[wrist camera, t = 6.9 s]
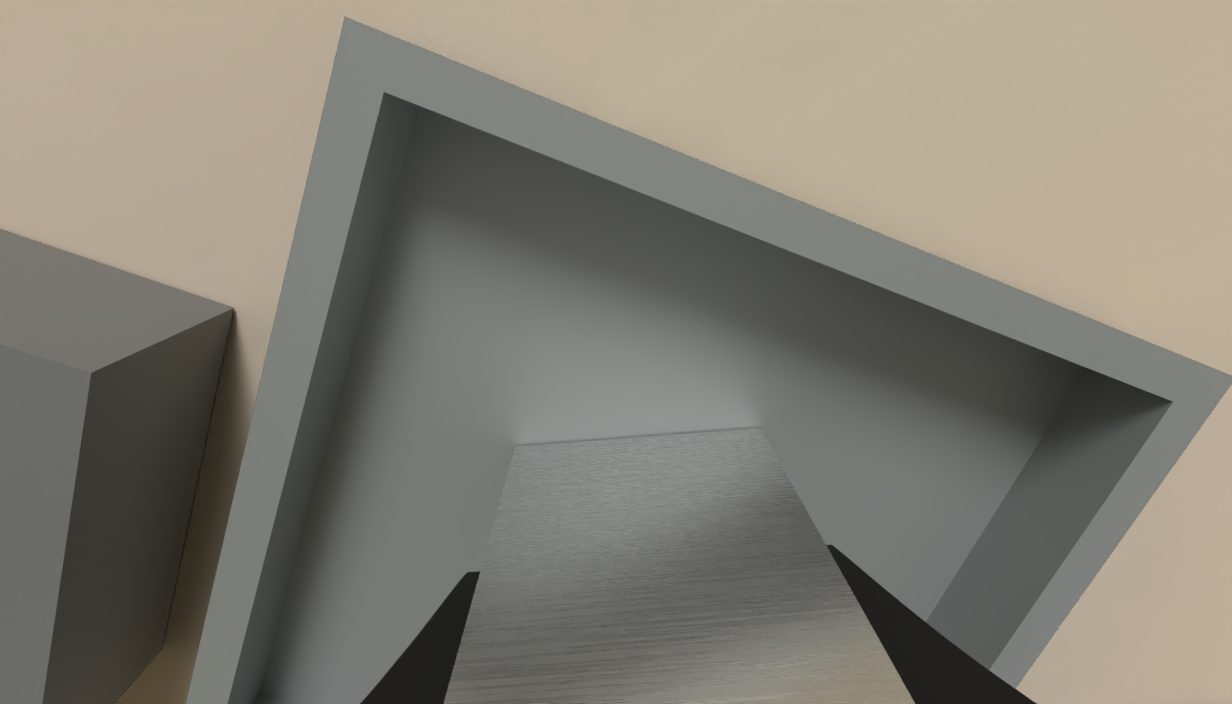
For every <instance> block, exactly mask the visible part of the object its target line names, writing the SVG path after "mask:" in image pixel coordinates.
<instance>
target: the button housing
mask: <svg viewBox="0 0 1232 704" xmlns="http://www.w3.org/2000/svg"><path fill="white" fill-rule="evenodd" d="M233 309H234V308H232V307H229V306H226V305H223V304H220V303H217V302H214V301H211V300H208V299H205V298H203V297H200V296H197V295H194V294H191V293H188V292H185V291H182V290H179V289H176V288H173V287H170V286H167V285H164V284H161V283H158V282H155V281H152V280H149V279H146V278H143V277H140V276H137V275H134V274H131V273H128V272H125V271H122V270H120V269H117V268H114V267H111V266H108V265H105V264H102V263H99V262H96V261H93V260H90V259H87V258H84V257H81V256H78V255H75V254H72V253H69V252H66V251H63V250H60V249H57V248H54V247H51V246H48V245H45V244H42V243H39V242H36V241H34V240H31V239H28V238H25V237H22V236H19V235H16V234H13V233H10V232H7V231H4V230H1V229H0V704H115V703H116V701H117V700H118V699H119V698H120V697H121V696H122V694H123V693H124V692H125V691H126V690H127V689H128V687H129V686H130V685H131V684H132V683H133V682H134V681H135V679H136V678H137V677H138V676H139V675H140V674H141V672H142V671H143V670H144V669H145V668H146V667H147V665H148V664H149V663H150V662H151V661H152V660H153V658H154V657H155V656H156V655H157V654H158V653H159V652H160V650H161V649H162V646H163V641H164V637H165V632H166V627H167V622H168V618H169V613H170V608H171V603H172V599H173V594H174V589H175V584H176V580H177V575H178V570H179V565H180V561H181V556H182V551H183V546H184V542H185V537H186V532H187V527H188V523H189V518H190V513H191V508H192V504H193V499H194V494H195V489H196V485H197V480H198V475H199V470H200V466H201V461H202V456H203V451H204V447H205V442H206V437H207V432H208V428H209V423H210V418H211V413H212V409H213V404H214V399H215V394H216V390H217V385H218V380H219V375H220V371H221V366H222V361H223V356H224V352H225V347H226V342H227V338H228V333H229V328H230V323H231V319H232V314H233Z"/></svg>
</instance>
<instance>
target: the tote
mask: <svg viewBox="0 0 1232 704" xmlns="http://www.w3.org/2000/svg"><path fill="white" fill-rule="evenodd" d="M1231 384H1232V376H1231V375H1229V374H1226V373H1224V372H1221V371H1219V370H1216V369H1214V368H1211V367H1209V366H1207V365H1204V364H1202V363H1199V362H1197V361H1194V360H1192V359H1189V358H1187V357H1184V356H1182V355H1179V354H1177V353H1174V352H1172V351H1170V350H1167V349H1165V348H1162V347H1160V346H1157V345H1155V344H1152V343H1150V342H1147V341H1145V340H1142V339H1140V338H1137V337H1135V336H1132V335H1130V334H1128V333H1125V332H1123V331H1120V330H1118V329H1115V328H1113V327H1110V326H1108V325H1105V324H1103V323H1100V322H1098V321H1095V320H1093V319H1090V318H1088V317H1086V316H1083V315H1081V314H1078V313H1076V312H1073V311H1071V310H1068V309H1066V308H1063V307H1061V306H1058V305H1056V304H1053V303H1051V302H1048V301H1046V300H1044V299H1041V298H1039V297H1036V296H1034V295H1031V294H1029V293H1026V292H1024V291H1021V290H1019V289H1016V288H1014V287H1011V286H1009V285H1007V284H1004V283H1002V282H999V281H997V280H994V279H992V278H989V277H987V276H984V275H982V274H979V273H977V272H974V271H972V270H969V269H967V268H965V267H962V266H960V265H957V264H955V263H952V262H950V261H947V260H945V259H942V258H940V257H937V256H935V255H932V254H930V253H927V252H925V251H923V250H920V249H918V248H915V247H913V246H910V245H908V244H905V243H903V242H900V241H898V240H895V239H893V238H890V237H888V236H885V235H883V234H881V233H878V232H876V231H873V230H871V229H868V228H866V227H863V226H861V225H858V224H856V223H853V222H851V221H848V220H846V219H844V218H841V217H839V216H836V215H834V214H831V213H829V212H826V211H824V210H821V209H819V208H816V207H814V206H811V205H809V204H806V203H804V202H802V201H799V200H797V199H794V198H792V197H789V196H787V195H784V194H782V193H779V192H777V191H774V190H772V189H769V188H767V187H764V186H762V185H760V184H757V183H755V182H752V181H750V180H747V179H745V178H742V177H740V176H737V175H735V174H732V173H730V172H727V171H725V170H722V169H720V168H718V167H715V166H713V165H710V164H708V163H705V162H703V161H700V160H698V159H695V158H693V157H690V156H688V155H685V154H683V153H681V152H678V151H676V150H673V149H671V148H668V147H666V146H663V145H661V144H658V143H656V142H653V141H651V140H648V139H646V138H643V137H641V136H639V135H636V134H634V133H631V132H629V131H626V130H624V129H621V128H619V127H616V126H614V125H611V124H609V123H606V122H604V121H601V120H599V119H597V118H594V117H592V116H589V115H587V114H584V113H582V112H579V111H577V110H574V109H572V108H569V107H567V106H564V105H562V104H559V103H557V102H555V101H552V100H550V99H547V98H545V97H542V96H540V95H537V94H535V93H532V92H530V91H527V90H525V89H522V88H520V87H518V86H515V85H513V84H510V83H508V82H505V81H503V80H500V79H498V78H495V77H493V76H490V75H488V74H485V73H483V72H480V71H478V70H476V69H473V68H471V67H468V66H466V65H463V64H461V63H458V62H456V61H453V60H451V59H448V58H446V57H443V56H441V55H438V54H436V53H434V52H431V51H429V50H426V49H424V48H421V47H419V46H416V45H414V44H411V43H409V42H406V41H404V40H401V39H399V38H396V37H394V36H392V35H389V34H387V33H384V32H382V31H379V30H377V29H374V28H372V27H369V26H367V25H364V24H362V23H359V22H357V21H355V20H352V19H350V18H347V17H344V21H343V26H342V30H341V34H340V39H339V43H338V47H337V52H336V56H335V60H334V65H333V69H332V73H331V78H330V82H329V86H328V91H327V95H326V99H325V104H324V108H323V112H322V117H321V121H320V125H319V130H318V134H317V138H316V143H315V147H314V151H313V155H312V160H311V164H310V168H309V173H308V177H307V181H306V186H305V190H304V194H303V199H302V203H301V207H300V212H299V216H298V220H297V225H296V229H295V233H294V238H293V242H292V246H291V251H290V255H289V259H288V264H287V268H286V272H285V277H284V281H283V285H282V290H281V294H280V298H279V303H278V307H277V311H276V315H275V320H274V324H273V328H272V333H271V337H270V341H269V346H268V350H267V354H266V359H265V363H264V367H263V372H262V376H261V380H260V385H259V389H258V393H257V398H256V402H255V406H254V411H253V415H252V419H251V424H250V428H249V432H248V437H247V441H246V445H245V450H244V454H243V458H242V463H241V467H240V471H239V475H238V480H237V484H236V488H235V493H234V497H233V501H232V506H231V510H230V514H229V519H228V523H227V527H226V532H225V536H224V540H223V545H222V549H221V553H220V558H219V562H218V566H217V571H216V575H215V579H214V584H213V588H212V592H211V597H210V601H209V605H208V610H207V614H206V618H205V623H204V627H203V631H202V635H201V640H200V644H199V648H198V653H197V657H196V661H195V666H194V670H193V674H192V679H191V683H190V687H189V692H188V696H187V700H186V704H360V703H361V702H362V701H363V700H364V699H365V698H366V697H367V695H368V694H369V693H370V692H371V691H372V690H373V688H374V687H375V686H376V685H377V684H378V683H379V681H380V680H381V679H382V678H383V676H384V675H385V674H386V673H387V672H388V670H389V669H390V668H391V667H392V666H393V664H394V663H395V662H396V661H397V659H398V658H399V657H400V656H401V655H402V653H403V652H404V651H405V650H406V649H407V647H408V646H409V645H410V644H411V642H412V641H413V640H414V639H415V637H416V636H417V635H418V634H419V632H420V631H421V630H422V629H423V627H424V626H425V625H426V623H427V622H428V621H429V620H430V618H431V617H432V616H433V614H434V613H435V612H436V611H437V609H438V608H439V607H440V605H441V604H442V603H443V601H444V600H445V599H446V597H447V596H448V595H449V594H450V592H451V591H452V590H453V588H454V587H455V586H456V585H457V583H458V582H459V581H460V579H461V578H462V577H463V576H464V575H465V574H466V573H467V572H476V571H481V567H482V564H483V560H484V556H485V553H486V549H487V546H488V542H489V539H490V535H491V531H492V528H493V524H494V521H495V517H496V513H497V510H498V506H499V503H500V499H501V495H502V492H503V488H504V485H505V481H506V477H507V474H508V470H509V467H510V463H511V460H512V456H513V452H514V449H515V446H526V445H539V444H553V443H566V442H579V441H592V440H606V439H619V438H632V437H645V436H659V435H672V434H685V433H698V432H712V431H725V430H738V429H751V428H761V430H762V432H763V434H764V435H765V437H766V439H767V441H768V442H769V444H770V446H771V448H772V450H773V451H774V453H775V455H776V457H777V459H778V460H779V462H780V464H781V466H782V467H783V469H784V471H785V473H786V475H787V476H788V478H789V480H790V482H791V483H792V485H793V487H794V489H795V491H796V492H797V494H798V496H799V498H800V499H801V501H802V503H803V505H804V507H805V508H806V510H807V512H808V514H809V515H810V517H811V519H812V521H813V523H814V524H815V526H816V528H817V530H818V531H819V533H820V535H821V537H822V539H823V540H824V542H825V544H826V545H833V546H834V547H835V548H837V549H838V550H839V551H840V552H842V553H843V554H844V555H845V556H846V557H848V558H849V559H850V560H851V561H852V562H854V563H855V564H856V565H857V566H858V567H859V568H861V569H862V570H863V571H864V572H865V573H867V574H868V575H869V576H870V577H871V578H873V579H874V580H875V581H876V582H877V583H878V584H880V585H881V586H882V587H883V588H884V589H886V590H887V591H888V592H889V593H891V594H892V595H893V596H894V597H895V598H897V599H898V600H899V601H900V602H901V603H903V604H904V605H905V606H906V607H908V608H909V609H910V610H911V611H912V612H914V613H915V614H916V615H917V616H919V617H920V618H921V619H922V620H924V621H925V622H926V623H927V624H929V625H930V626H931V627H932V628H934V629H935V630H936V631H938V632H939V633H940V634H941V635H943V636H944V637H945V638H947V639H948V640H949V641H950V642H952V643H953V644H954V645H956V646H957V647H958V648H960V649H961V650H962V651H964V652H965V653H966V654H968V655H969V656H970V657H972V658H973V659H974V660H976V661H977V662H978V663H980V664H981V665H982V666H984V667H985V668H987V669H988V670H989V671H991V672H992V673H994V674H995V675H997V676H998V677H999V678H1001V679H1002V680H1004V681H1005V682H1006V683H1008V684H1009V685H1011V686H1012V687H1013V688H1015V689H1016V687H1017V686H1018V685H1019V683H1020V682H1021V680H1022V679H1023V677H1024V676H1025V675H1026V673H1027V672H1028V670H1029V669H1030V668H1031V666H1032V665H1033V663H1034V662H1035V661H1036V659H1037V658H1038V656H1039V655H1040V653H1041V652H1042V651H1043V649H1044V648H1045V646H1046V645H1047V644H1048V642H1049V641H1050V639H1051V638H1052V637H1053V635H1054V634H1055V632H1056V631H1057V630H1058V628H1059V627H1060V625H1061V624H1062V622H1063V621H1064V620H1065V618H1066V617H1067V615H1068V614H1069V613H1070V611H1071V610H1072V608H1073V607H1074V606H1075V604H1076V603H1077V601H1078V600H1079V598H1080V597H1081V596H1082V594H1083V593H1084V591H1085V590H1086V589H1087V587H1088V586H1089V584H1090V583H1091V582H1092V580H1093V579H1094V577H1095V576H1096V574H1097V573H1098V572H1099V570H1100V569H1101V567H1102V566H1103V565H1104V563H1105V562H1106V560H1107V559H1108V558H1109V556H1110V555H1111V553H1112V552H1113V551H1114V549H1115V548H1116V546H1117V545H1118V543H1119V542H1120V541H1121V539H1122V538H1123V536H1124V535H1125V534H1126V532H1127V531H1128V529H1129V528H1130V527H1131V525H1132V524H1133V522H1134V521H1135V519H1136V518H1137V517H1138V515H1139V514H1140V512H1141V511H1142V510H1143V508H1144V507H1145V505H1146V504H1147V503H1148V501H1149V500H1150V498H1151V497H1152V495H1153V494H1154V493H1155V491H1156V490H1157V488H1158V487H1159V486H1160V484H1161V483H1162V481H1163V480H1164V479H1165V477H1166V476H1167V474H1168V473H1169V472H1170V470H1171V469H1172V467H1173V466H1174V464H1175V463H1176V462H1177V460H1178V459H1179V457H1180V456H1181V455H1182V453H1183V452H1184V450H1185V449H1186V448H1187V446H1188V445H1189V443H1190V442H1191V440H1192V439H1193V438H1194V436H1195V435H1196V433H1197V432H1198V431H1199V429H1200V428H1201V426H1202V425H1203V424H1204V422H1205V421H1206V419H1207V418H1208V416H1209V415H1210V414H1211V412H1212V411H1213V409H1214V408H1215V407H1216V405H1217V404H1218V402H1219V401H1220V400H1221V398H1222V397H1223V395H1224V394H1225V393H1226V391H1227V390H1228V388H1229V387H1230V385H1231Z"/></svg>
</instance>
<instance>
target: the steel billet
mask: <svg viewBox="0 0 1232 704" xmlns="http://www.w3.org/2000/svg"><path fill="white" fill-rule="evenodd" d="M444 704H915V702H914V701H913V699H912V697H911V695H910V693H909V692H908V690H907V688H906V686H905V685H904V683H903V681H902V679H901V677H900V676H899V674H898V672H897V670H896V669H895V667H894V665H893V663H892V661H891V660H890V658H889V656H888V654H887V653H886V651H885V649H884V647H883V645H882V644H881V642H880V640H879V638H878V637H877V635H876V633H875V631H874V629H873V628H872V626H871V624H870V622H869V620H868V619H867V617H866V615H865V613H864V612H863V610H862V608H861V606H860V604H859V603H858V601H857V599H856V597H855V596H854V594H853V592H852V590H851V588H850V587H849V585H848V583H847V581H846V580H845V578H844V576H843V574H842V572H841V571H840V569H839V567H838V565H837V564H836V562H835V560H834V558H833V556H832V555H831V553H830V551H829V549H828V548H827V546H826V544H825V542H824V540H823V539H822V537H821V535H820V533H819V531H818V530H817V528H816V526H815V524H814V523H813V521H812V519H811V517H810V515H809V514H808V512H807V510H806V508H805V507H804V505H803V503H802V501H801V499H800V498H799V496H798V494H797V492H796V491H795V489H794V487H793V485H792V483H791V482H790V480H789V478H788V476H787V475H786V473H785V471H784V469H783V467H782V466H781V464H780V462H779V460H778V459H777V457H776V455H775V453H774V451H773V450H772V448H771V446H770V444H769V442H768V441H767V439H766V437H765V435H764V434H763V432H762V430H761V428H751V429H738V430H725V431H712V432H698V433H685V434H672V435H659V436H645V437H632V438H619V439H606V440H592V441H579V442H566V443H553V444H539V445H526V446H515V449H514V452H513V456H512V460H511V463H510V467H509V470H508V474H507V477H506V481H505V485H504V488H503V492H502V495H501V499H500V503H499V506H498V510H497V513H496V517H495V521H494V524H493V528H492V531H491V535H490V539H489V542H488V546H487V549H486V553H485V556H484V560H483V564H482V567H481V571H480V574H479V578H478V582H477V585H476V589H475V592H474V596H473V600H472V603H471V607H470V610H469V614H468V617H467V621H466V625H465V628H464V632H463V635H462V639H461V643H460V646H459V650H458V653H457V657H456V661H455V664H454V668H453V671H452V675H451V678H450V682H449V686H448V689H447V693H446V696H445V700H444Z"/></svg>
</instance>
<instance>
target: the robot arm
mask: <svg viewBox="0 0 1232 704" xmlns="http://www.w3.org/2000/svg"><path fill="white" fill-rule="evenodd" d="M826 546H827V548H828V549H829V551H830V553H831V555H832V556H833V558H834V560H835V562H836V564H837V565H838V567H839V569H840V571H841V572H842V574H843V576H844V578H845V580H846V581H847V583H848V585H849V587H850V588H851V590H852V592H853V594H854V596H855V597H856V599H857V601H858V603H859V604H860V606H861V608H862V610H863V612H864V613H865V615H866V617H867V619H868V620H869V622H870V624H871V626H872V628H873V629H874V631H875V633H876V635H877V637H878V638H879V640H880V642H881V644H882V645H883V647H884V649H885V651H886V653H887V654H888V656H889V658H890V660H891V661H892V663H893V665H894V667H895V669H896V670H897V672H898V674H899V676H900V677H901V679H902V681H903V683H904V685H905V686H906V688H907V690H908V692H909V693H910V695H911V697H912V699H913V701H914V702H915V704H1036V703H1035V702H1033V701H1032V700H1030V699H1029V698H1027V697H1026V696H1025V695H1023V694H1022V693H1020V692H1019V691H1018V690H1016V689H1015V688H1013V687H1012V686H1011V685H1009V684H1008V683H1006V682H1005V681H1004V680H1002V679H1001V678H999V677H998V676H997V675H995V674H994V673H992V672H991V671H989V670H988V669H987V668H985V667H984V666H982V665H981V664H980V663H978V662H977V661H976V660H974V659H973V658H972V657H970V656H969V655H968V654H966V653H965V652H964V651H962V650H961V649H960V648H958V647H957V646H956V645H954V644H953V643H952V642H950V641H949V640H948V639H947V638H945V637H944V636H943V635H941V634H940V633H939V632H938V631H936V630H935V629H934V628H932V627H931V626H930V625H929V624H927V623H926V622H925V621H924V620H922V619H921V618H920V617H919V616H917V615H916V614H915V613H914V612H912V611H911V610H910V609H909V608H908V607H906V606H905V605H904V604H903V603H901V602H900V601H899V600H898V599H897V598H895V597H894V596H893V595H892V594H891V593H889V592H888V591H887V590H886V589H884V588H883V587H882V586H881V585H880V584H878V583H877V582H876V581H875V580H874V579H873V578H871V577H870V576H869V575H868V574H867V573H865V572H864V571H863V570H862V569H861V568H859V567H858V566H857V565H856V564H855V563H854V562H852V561H851V560H850V559H849V558H848V557H846V556H845V555H844V554H843V553H842V552H840V551H839V550H838V549H837V548H835V547H834V546H833V545H826ZM479 574H480V571H476V572H467V573H466V574H465V575H464V576H463V577H462V578H461V579H460V581H459V582H458V583H457V585H456V586H455V587H454V588H453V590H452V591H451V592H450V594H449V595H448V596H447V597H446V599H445V600H444V601H443V603H442V604H441V605H440V607H439V608H438V609H437V611H436V612H435V613H434V614H433V616H432V617H431V618H430V620H429V621H428V622H427V623H426V625H425V626H424V627H423V629H422V630H421V631H420V632H419V634H418V635H417V636H416V637H415V639H414V640H413V641H412V642H411V644H410V645H409V646H408V647H407V649H406V650H405V651H404V652H403V653H402V655H401V656H400V657H399V658H398V659H397V661H396V662H395V663H394V664H393V666H392V667H391V668H390V669H389V670H388V672H387V673H386V674H385V675H384V676H383V678H382V679H381V680H380V681H379V683H378V684H377V685H376V686H375V687H374V688H373V690H372V691H371V692H370V693H369V694H368V695H367V697H366V698H365V699H364V700H363V701H362V702H361V703H360V704H444V700H445V696H446V693H447V689H448V686H449V682H450V678H451V675H452V671H453V668H454V664H455V661H456V657H457V653H458V650H459V646H460V643H461V639H462V635H463V632H464V628H465V625H466V621H467V617H468V614H469V610H470V607H471V603H472V600H473V596H474V592H475V589H476V585H477V582H478V578H479Z"/></svg>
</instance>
